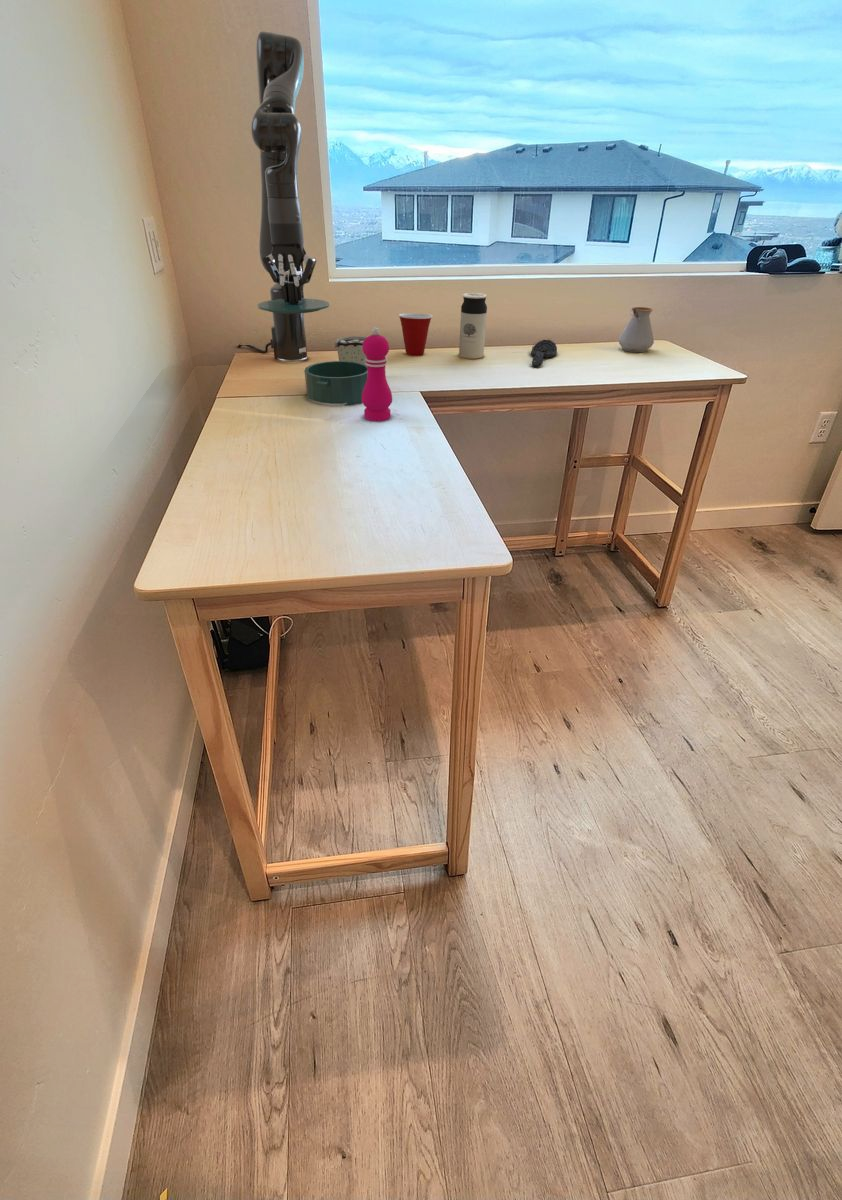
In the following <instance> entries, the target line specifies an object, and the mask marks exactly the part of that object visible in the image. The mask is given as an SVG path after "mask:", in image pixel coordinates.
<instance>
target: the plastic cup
mask: <svg viewBox="0 0 842 1200" xmlns="http://www.w3.org/2000/svg"><path fill="white" fill-rule="evenodd" d="M398 317H399V321H400V324H401V325H400V326H401V329H402V330H401V331H402V336H403V344H404V350H405V354H406V355H407V356H409V357H420V356H423V355H424V353H425V350H426V344H427V339H428V335H429V329H430V323H431V320H432V318H433V315H432V314H427V313H425V314H424V313H398Z"/></svg>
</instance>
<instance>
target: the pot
mask: <svg viewBox="0 0 842 1200" xmlns="http://www.w3.org/2000/svg"><path fill="white" fill-rule="evenodd" d="M367 374H368V370H367V365H364V364H362V363H357V362H349V361H339V360H331V361H330V360H329V361H321V362H316V363H313V364H310V365H308V366H306V367H305V368H304V381H305V382H304V383H305V392H306V393H305V394H306V397H307V398H308V399H309V400H311V401H314V402H317V403H322V404H331V405H332V404H333V405H337V404H339V405H342V404H343V405H344V407H345V406H353V405H358V404H363V403H362V392H363V389H364V387H365V384H366V381H367Z"/></svg>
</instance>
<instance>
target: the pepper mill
mask: <svg viewBox="0 0 842 1200" xmlns="http://www.w3.org/2000/svg"><path fill="white" fill-rule="evenodd" d="M370 332H371V335H368V336H366V337H367V338H366V339H365V340H364V342H363V352H364V354H365V355H366V358H365V360H366V362H365V364H366V365H367V370H368V374H367V381H366V384H365V387H364V389H363V392H362V403H361V404H363V406H364V407H365V408H364V410H363V416H364V419H365V420H368V421H370V422H384V421H388V420H390V419H391V409H390V408H389V407H390V406H391V405H392V403H393V394H392V390H391V387H390V386H389V382H388V381H387V375H386V366H387V365H388V358H387V356H388V354H389V352H390V344H389V341H388V339H387V338H386V337H384V336H383V335H381V334H380V329H379V328H378V327H373V328H372V329H371V331H370Z"/></svg>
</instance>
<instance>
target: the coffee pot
mask: <svg viewBox="0 0 842 1200" xmlns="http://www.w3.org/2000/svg"><path fill="white" fill-rule="evenodd" d="M631 311H632V314H631V318H630V320H629V321H628V323H627V325H626V326H625V328H624V330H623V331H622V333H621V334H620V336H619V338H618V343H619V346H620V347H621V348H622V350H623V351H625V352H629V353H645V352H647V350H649V349H651V348H652V346H653V345H654V343H655V341H654V335H653V330H652V324H651V319H650V316H651V313H652V312H653V311H654V310H653V308H650V307H644V306H643V307H642V306H636V307H631Z"/></svg>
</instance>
